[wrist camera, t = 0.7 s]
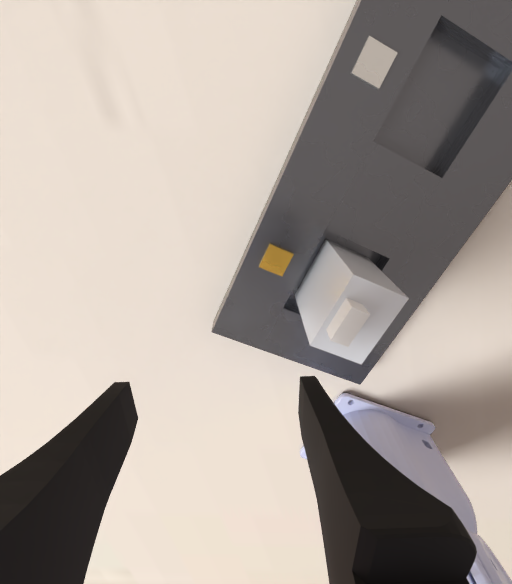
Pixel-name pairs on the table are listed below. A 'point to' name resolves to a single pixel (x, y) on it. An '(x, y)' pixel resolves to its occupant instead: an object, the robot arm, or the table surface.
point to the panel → (383, 167)
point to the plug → (346, 302)
